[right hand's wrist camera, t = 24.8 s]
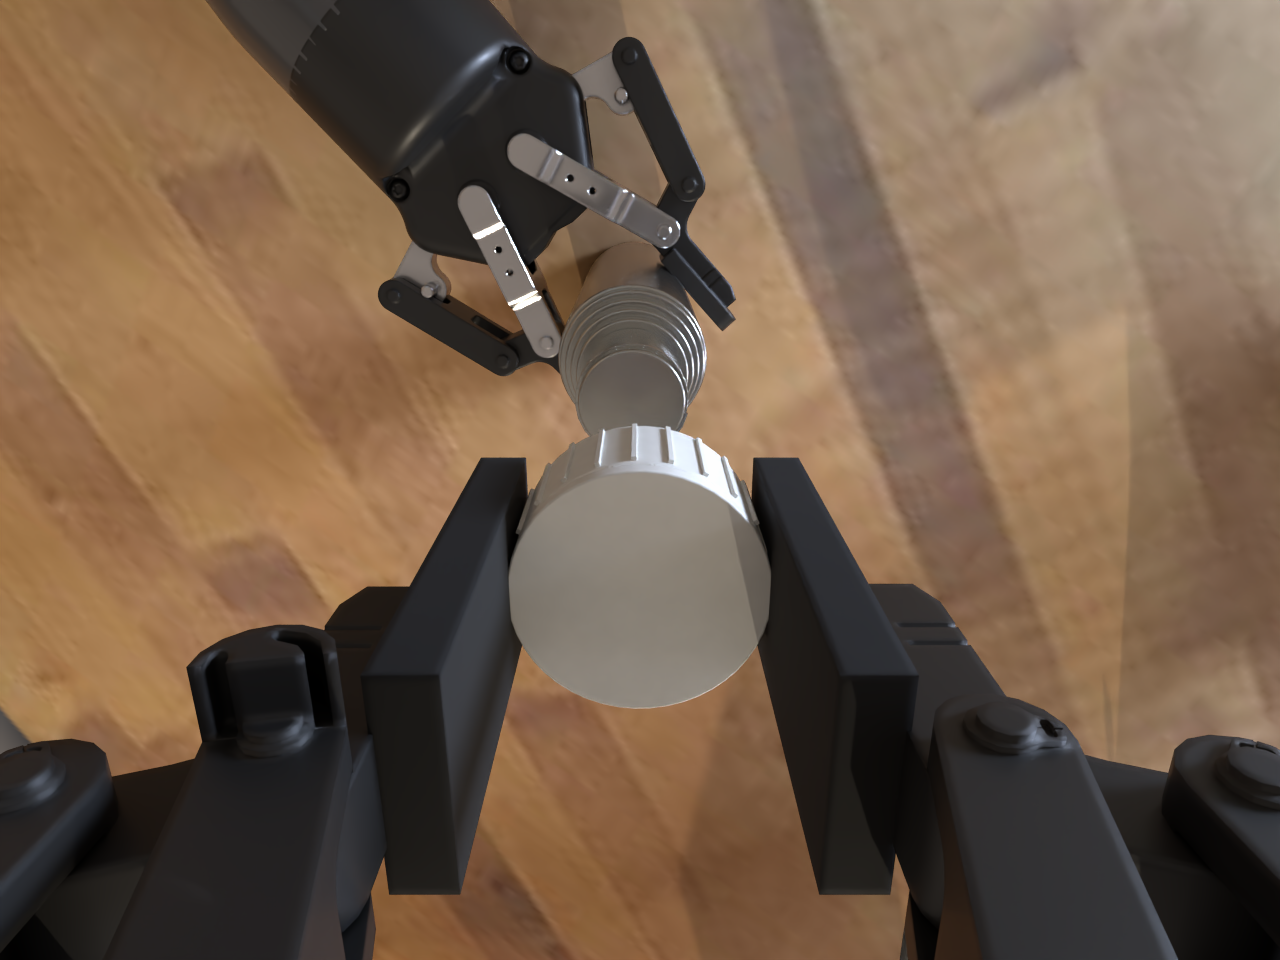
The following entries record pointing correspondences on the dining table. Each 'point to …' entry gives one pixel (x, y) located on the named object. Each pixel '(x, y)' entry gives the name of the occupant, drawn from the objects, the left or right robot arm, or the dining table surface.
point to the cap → (639, 569)
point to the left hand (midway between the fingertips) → (677, 363)
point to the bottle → (631, 344)
